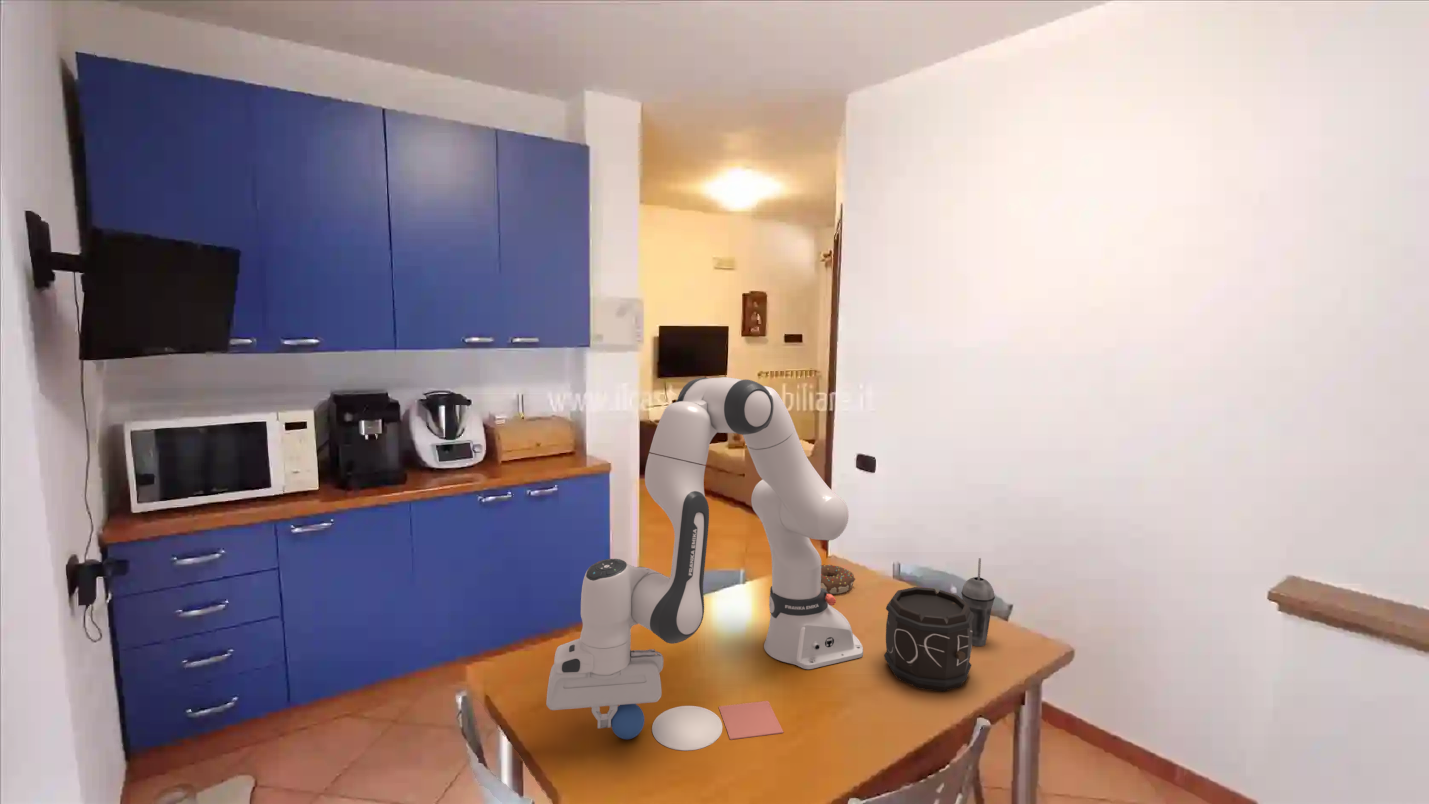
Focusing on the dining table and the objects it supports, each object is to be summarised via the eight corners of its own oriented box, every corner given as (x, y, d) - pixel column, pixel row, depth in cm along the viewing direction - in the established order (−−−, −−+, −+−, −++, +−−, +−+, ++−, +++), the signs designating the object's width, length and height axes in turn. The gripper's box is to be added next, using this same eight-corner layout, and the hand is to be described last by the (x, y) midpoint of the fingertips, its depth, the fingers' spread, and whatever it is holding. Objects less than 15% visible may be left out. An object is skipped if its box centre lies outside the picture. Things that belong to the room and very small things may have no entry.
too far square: (768, 701, 127) (768, 700, 127) (783, 733, 117) (783, 732, 117) (718, 707, 125) (718, 706, 125) (730, 739, 115) (730, 738, 115)
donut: (844, 601, 174) (845, 583, 173) (797, 590, 181) (798, 573, 180) (860, 583, 186) (861, 566, 185) (816, 573, 193) (816, 557, 192)
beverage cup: (958, 645, 149) (962, 563, 147) (959, 631, 156) (963, 552, 154) (992, 651, 147) (997, 567, 144) (991, 637, 153) (996, 557, 151)
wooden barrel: (924, 704, 126) (927, 628, 124) (868, 660, 143) (870, 593, 141) (992, 684, 133) (996, 612, 132) (931, 644, 150) (934, 580, 148)
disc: (714, 703, 126) (714, 702, 126) (729, 745, 113) (729, 744, 113) (648, 710, 124) (648, 710, 124) (656, 755, 111) (656, 753, 111)
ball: (623, 731, 119) (648, 709, 120) (627, 753, 113) (653, 729, 114) (602, 711, 117) (627, 689, 118) (605, 732, 112) (632, 709, 112)
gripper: (661, 640, 119) (659, 711, 120) (548, 647, 115) (547, 720, 116) (665, 657, 113) (663, 731, 114) (545, 665, 109) (545, 742, 110)
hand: (604, 726), depth 115 cm, fingers closed
